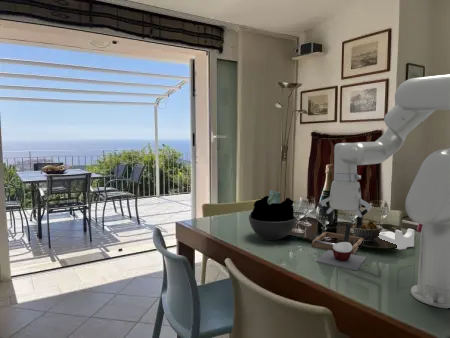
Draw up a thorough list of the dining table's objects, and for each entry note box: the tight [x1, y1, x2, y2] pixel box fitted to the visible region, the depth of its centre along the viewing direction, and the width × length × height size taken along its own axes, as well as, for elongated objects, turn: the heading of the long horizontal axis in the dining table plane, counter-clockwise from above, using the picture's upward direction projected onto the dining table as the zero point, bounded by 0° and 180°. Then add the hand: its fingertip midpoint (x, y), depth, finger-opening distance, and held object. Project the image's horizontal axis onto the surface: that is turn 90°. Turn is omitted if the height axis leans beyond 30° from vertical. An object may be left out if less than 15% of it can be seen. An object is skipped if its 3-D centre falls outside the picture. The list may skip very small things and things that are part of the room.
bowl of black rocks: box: [248, 195, 297, 241], centre depth 148 cm, size 20×20×19 cm
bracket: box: [378, 228, 416, 251], centre depth 143 cm, size 13×7×8 cm, turn 17°
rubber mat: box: [315, 250, 367, 272], centre depth 124 cm, size 14×14×1 cm
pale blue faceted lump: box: [267, 189, 281, 205], centre depth 184 cm, size 18×20×18 cm
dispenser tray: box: [311, 231, 364, 255], centre depth 140 cm, size 16×16×3 cm
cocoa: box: [333, 222, 353, 261], centre depth 123 cm, size 10×6×12 cm, turn 115°
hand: (344, 226), depth 122 cm, fingers open, 9 cm apart
